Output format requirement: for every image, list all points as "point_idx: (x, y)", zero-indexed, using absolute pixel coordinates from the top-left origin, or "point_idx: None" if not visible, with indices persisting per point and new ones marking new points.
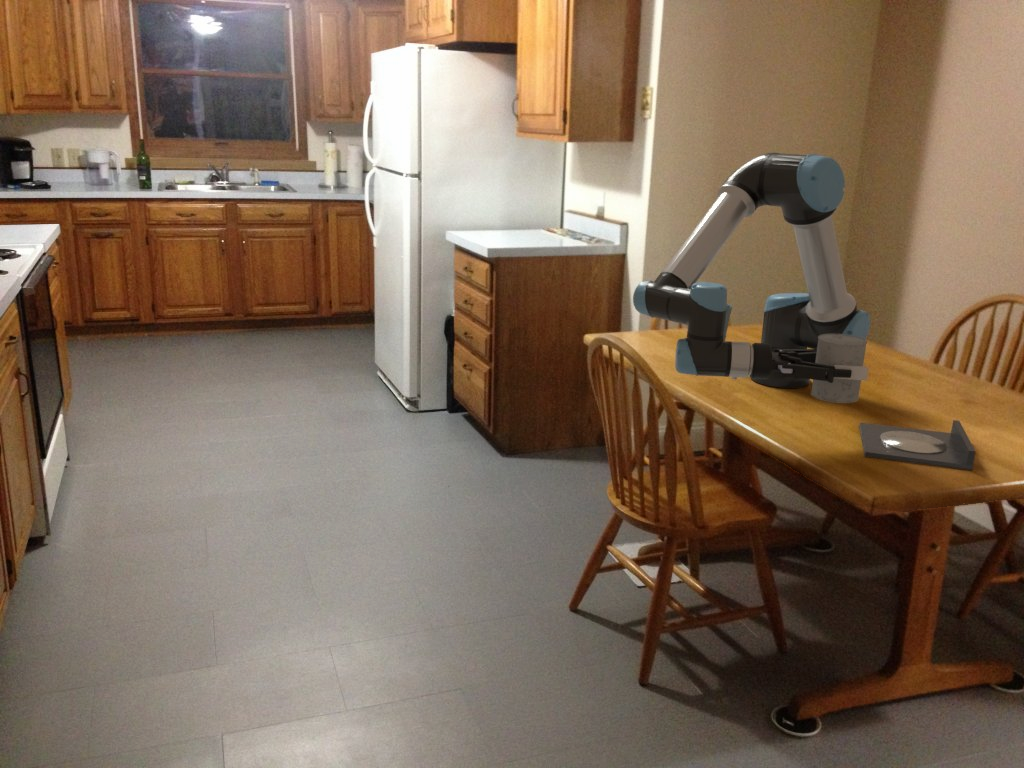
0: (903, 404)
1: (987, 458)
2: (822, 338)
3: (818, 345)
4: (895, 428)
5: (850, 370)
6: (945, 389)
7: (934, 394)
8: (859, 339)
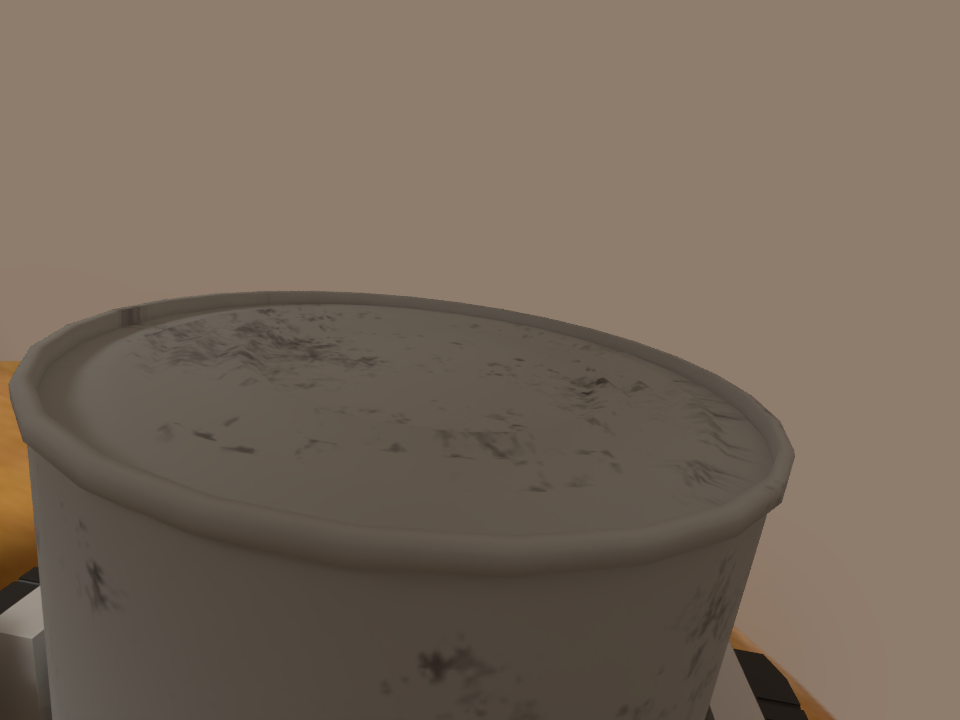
0: (21, 510)
1: None
2: (303, 482)
3: (347, 717)
4: None
5: (750, 658)
6: (5, 408)
7: (15, 433)
8: (411, 311)
